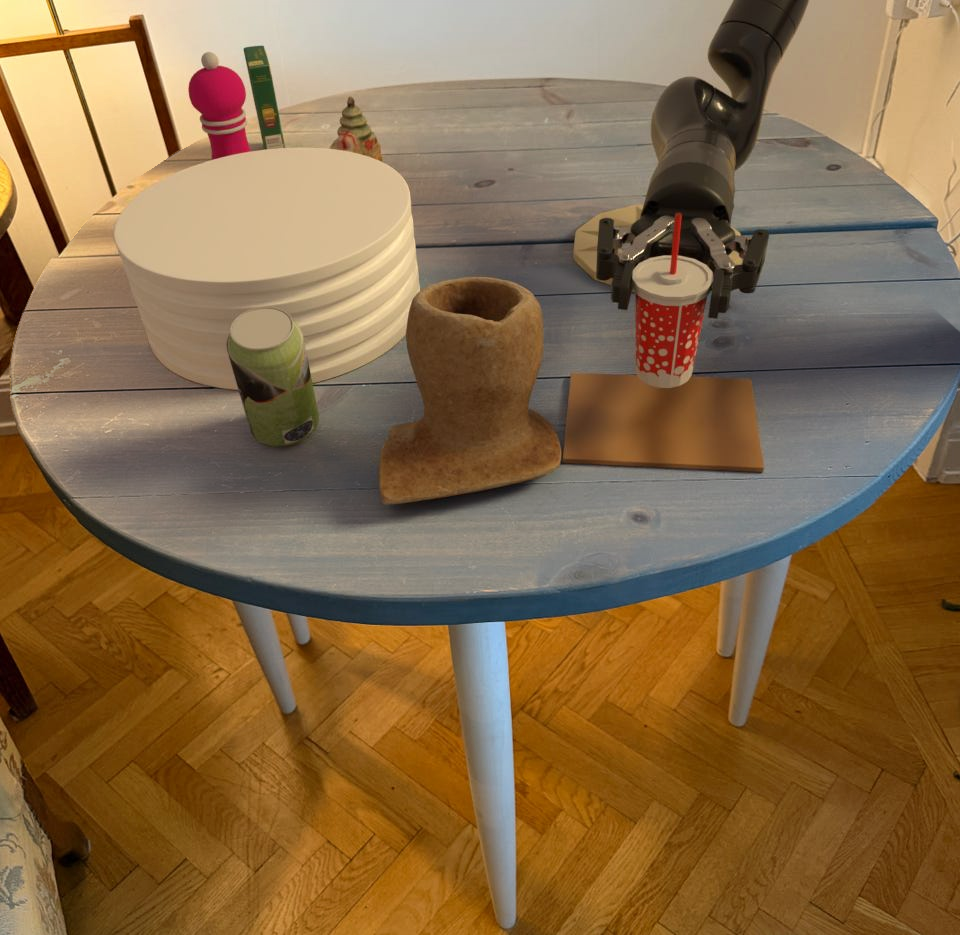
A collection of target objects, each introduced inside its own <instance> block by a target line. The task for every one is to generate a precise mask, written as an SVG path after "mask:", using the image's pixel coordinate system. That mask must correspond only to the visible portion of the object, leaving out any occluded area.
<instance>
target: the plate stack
mask: <svg viewBox="0 0 960 935" xmlns="http://www.w3.org/2000/svg"><path fill="white" fill-rule="evenodd" d="M409 188H410V187H409V185H408V183H407V181H406V180H405V178H404V177H403V176H402V175H401V174H400V173H399V172H398V171H397V170H395V168H393V167H392V166H391V165H388V164H387V163H386V162H385V163H384V161H383V162H381V161H379V160H376V159H374V158H371V157H368V156H365V155H361V154H357V153H353V152H348V151H343V150H336V149H330V148H325V147H285V148H277V149H266V150H265V149H259V150H251V152H245V153H240V154H235V155H230V156H226V157H222V158H218V159H214V160H212V159H211V160H208V161H203V162H201V163H198V164H195V165H192V166H189V167H187V168H184V169H181V170H179V171H176V172H174V173H172V174H170V175H167V176H166V177H164V178H162V179H160V180H158V181H156V182H155V183H153V184H151V185H150V186H148V187H147V188H145V189H144V190H142V191H141V192H140V193H138V194H136V196H135V197H133V198H132V199H131V200H130V201H129V202H128V203H127V204H126V205H125V207H124V208H123V209H122V210H121V212H120V213H119V215H118V217H117V219H116V221H115V223H114V227H113V240H114V244H115V246H116V249H117V252H118V256H119V257H120V259H121V261H122V266H123V270H124V272H125V275H126V276H125V277H126V278H127V281H128V282H129V283H128V284H129V285H130V291H131V293H132V296H133V299H134V302H135V304H136V306H137V309H138V313H139V314H138V315H139V318H140V319H141V323H142V325H143V327H144V330H145V333H146V338H147V340H148V343H149V345H150V349H151V351H152V353H153V354H154V356H155V357H156V359H157V360H158V361H159V362H160V363H161V364H162V365H163V366H164V367H165V368H167V369H168V370H169V371H171V372H172V373H174V374H176V375H177V376H180V377H181V378H184V379H186V380H188V381H192V382H194V383H197V384H200V385H204V386H208V387H213V388H217V389H225V390H233V391H239V390H238V387H237V383H236V380H235V376H234V373H233V369H232V366H231V362H230V359H229V355H228V352H227V345H226V344H227V338H228V336H229V333H230V328H231V325H232V323H233V322H234V320H235V319H236V318H237V317H238V316H240V315H241V314H243V313H244V312H246V311H249V310H251V309H255V308H260V307H273V308H277V309H280V310H283V311H285V312H286V313H287V314H289V316H290V317H291V318H292V320H293V321H294V322H296V323H297V325H298V326H299V327H300V329H301V331H302V333H303V338H304V343H305V348H306V353H307V358H308V363H309V368H310V373H311V378H312V383H313V384H316V383H320V382H325V381H327V380H330V379H333V378H336V377H339V376H342V375H345V374H347V373H350V372H352V371H354V370H357V369H358V368H361V367H363V366H365V365H367V364H369V363H371V362H373V361H374V360H377V359H378V358H379V357H382V355H384V354H385V353H387V352H388V351H390V350H391V349H392V348H393V347H395V346H396V345H397V344H398V343H399V342H401V340H402V339H404V337H406V328H407V321H408V314H409V309H410V306H411V302H412V300H413V298H414V297H415V296H416V294H417V293H418V292H420V291H421V286H420V279H419V277H420V276H419V265H418V260H417V247H416V240H415V239H416V238H415V228H414V227H415V226H414V219H413V218H414V217H413V213H412V199H411V192H410V189H409Z"/></svg>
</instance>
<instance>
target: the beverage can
mask: <svg viewBox="0 0 960 935" xmlns="http://www.w3.org/2000/svg"><path fill="white" fill-rule="evenodd" d="M226 345H227V352H228V355H229V359H230V362H231V366H232V369H233V373H234V376H235V380H236V383H237V387H238V390H237V391H238V393H239V397H240V400H241V404H242V407H243V411H244V414H245V418H246V421H247V425H248V429H249V431H250V433H251V435H252V436H253V437H254V438H255V439H256V440H257V441H258V442H260V443H261V444H264V445H267V446H271V447H289V446H293V445H296V444H299V443H300V442H303V441H304V440H306V439H307V438H309V437H310V436H311V435H312V434H313V433H314V432H315V431H316V428H317V427H318V425H319V421H320V413H319V409H318V404H317V399H316V394H315V388H314V383H312V378H311V373H310V368H309V363H308V358H307V353H306V348H305V343H304V338H303V333H302V331H301V329H300V327H299V326H298V325H297V323H296V322H294V321H293V320H292V318H291V317H290V316H289V314H287V313H286V312H285V311H283V310H280V309H277V308H273V307H260V308H255V309H251V310H249V311H246V312H244V313H243V314H241V315H240V316H238V317H237V318H236V319H235V320H234V322H233V323H232V325H231V328H230V333H229V336H228V338H227V344H226Z"/></svg>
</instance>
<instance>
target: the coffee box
mask: <svg viewBox="0 0 960 935" xmlns="http://www.w3.org/2000/svg"><path fill="white" fill-rule="evenodd" d="M242 50H243V54H244V59H245V63H246V64H245V65H246V68H247V73H248V78H249V83H250V87H251V94H252V98H253V102H254V103H253V104H254V106H255V107H254V108H255V111H256V117H257V122H258V126H259V132H260V136H261V141H262V145H263V150H266V149H277V148H286V144H285V138H284V134H283V128H282V123H281V118H280V113H279V108H278V107H279V106H278V101H277V96H276V92H275V86H274V80H273V75H272V69H271V64H270V61H269V57H268V54H267V50H266V48H265V46H264V45H253V46H246V47H243V49H242Z"/></svg>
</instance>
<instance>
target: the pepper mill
mask: <svg viewBox="0 0 960 935" xmlns="http://www.w3.org/2000/svg"><path fill="white" fill-rule="evenodd" d="M200 61H201V66H202V68H200V69H199V70H197V71H196V72H195V73H193V75H192V76H191V77H190V80H189V82H188V91H187V92H188V98H189V101H190V103H191V105H192V107H193V108H194V109H195V110H196V111H197V112H198V113H200V114H201V115H200V116H199V122H200V123H201V130H202V131H203V132H204V133H206V134H207V136H208V140H209V144H210V150H211V160H214V159H218V158H222V157H226V156H230V155H235V154H240V153H245V152H251V151H252V150H251V147H250V144H249V141H248V138H247V137H248V136H247V132H246V127H247V125H248V122H249V121H248V119H247V118H246V115H247V112H246V111H245V109H243V106H244V104H245V102H246V97H247V91H246V87H245V84H244V81H243V79H242V78H241V76H240V75H239V74H238V73H237V72H236V71H235V70H234V69H231V68H230V67H228V66H223V65H219V63H220V62H219V58H218V56H217V54H215V53H214V52H212V51H207V52H204V53H203V54H202V56H201V59H200Z"/></svg>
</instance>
